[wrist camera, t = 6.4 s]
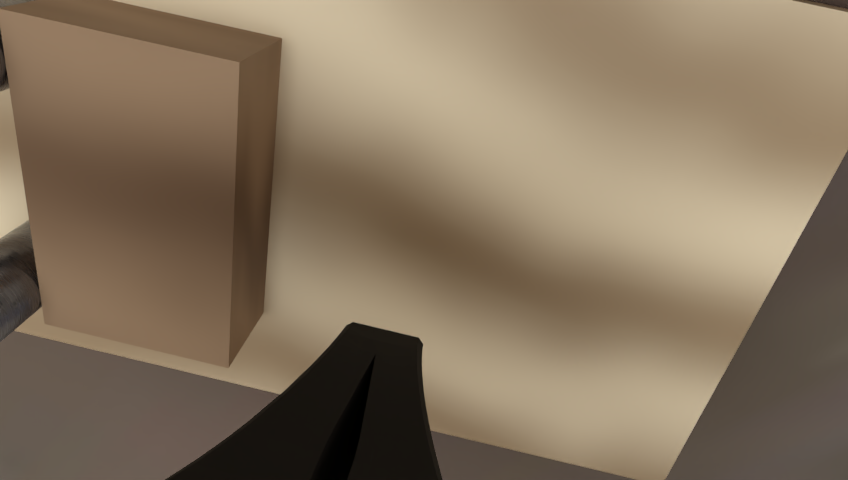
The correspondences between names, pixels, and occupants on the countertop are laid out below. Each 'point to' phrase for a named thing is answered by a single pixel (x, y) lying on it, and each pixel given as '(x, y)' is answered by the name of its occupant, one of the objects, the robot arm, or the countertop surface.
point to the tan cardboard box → (145, 170)
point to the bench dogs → (16, 253)
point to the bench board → (530, 202)
